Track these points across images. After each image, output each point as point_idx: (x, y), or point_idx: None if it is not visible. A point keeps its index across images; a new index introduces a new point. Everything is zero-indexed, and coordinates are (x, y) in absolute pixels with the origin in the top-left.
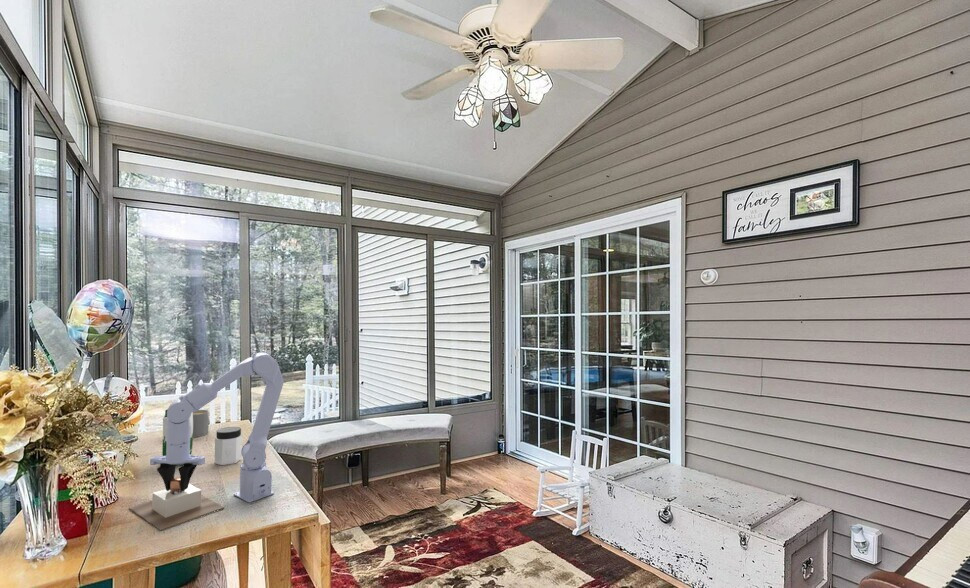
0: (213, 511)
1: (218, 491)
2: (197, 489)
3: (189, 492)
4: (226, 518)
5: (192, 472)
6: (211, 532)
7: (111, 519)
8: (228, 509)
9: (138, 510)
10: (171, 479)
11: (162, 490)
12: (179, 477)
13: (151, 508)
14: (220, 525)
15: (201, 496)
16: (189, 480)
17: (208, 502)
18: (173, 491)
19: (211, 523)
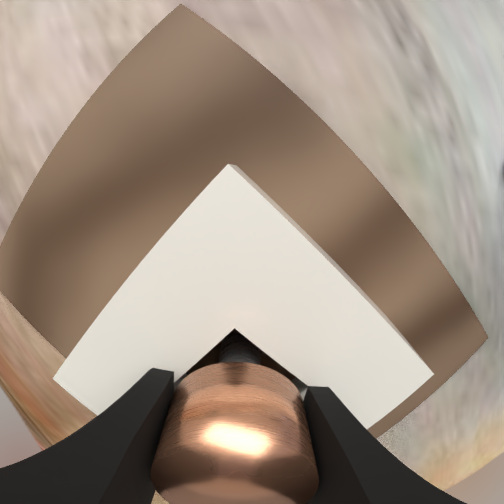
0: (451, 372)
1: (402, 63)
2: (407, 368)
3: (358, 418)
4: (484, 407)
5: (427, 498)
6: (441, 475)
7: (12, 369)
8: (497, 340)
9: (48, 327)
10: (158, 480)
11: (88, 349)
12: (226, 453)
13: (92, 313)
14: (465, 445)
15: (340, 155)
16: (364, 433)
17: (418, 273)
18: (190, 364)
19: (443, 441)
